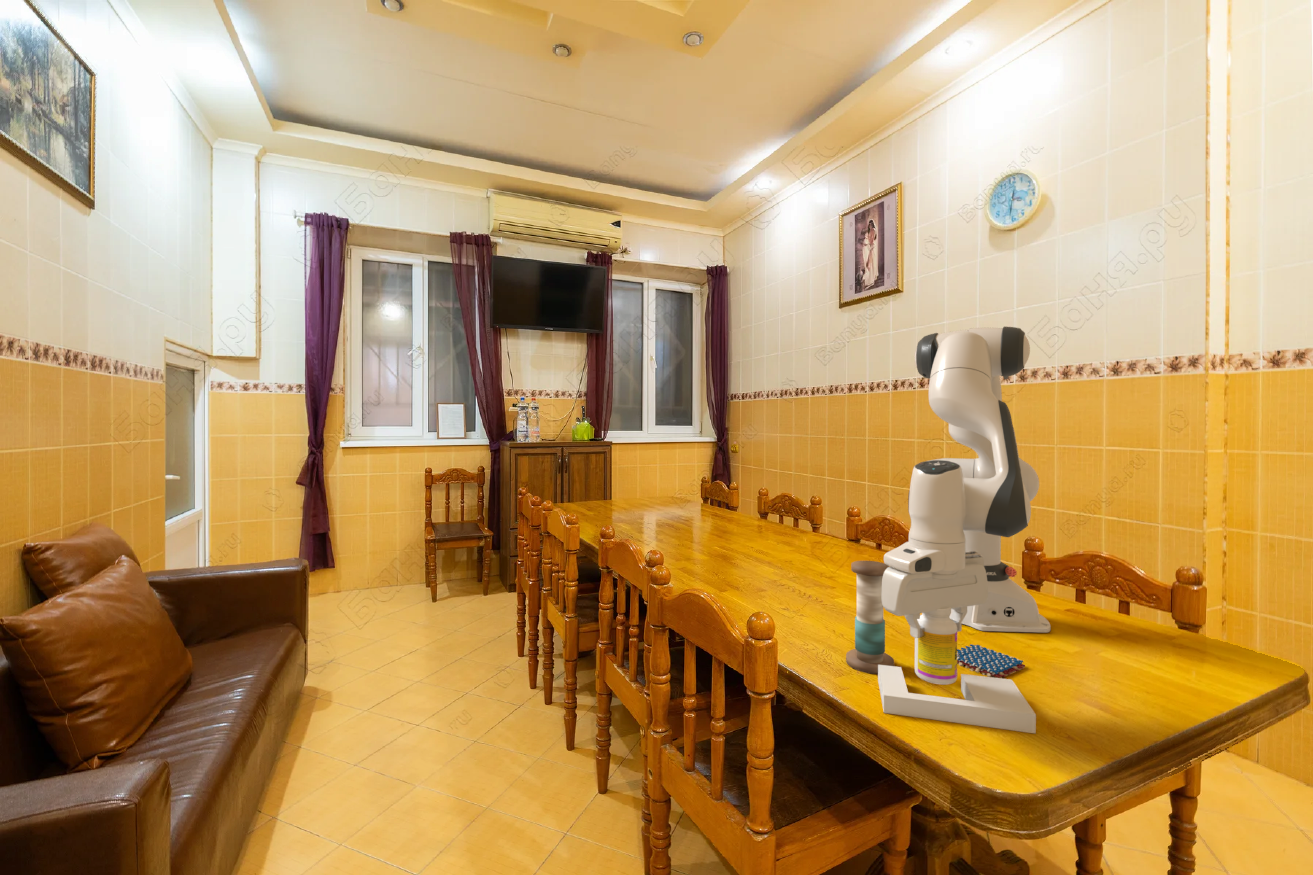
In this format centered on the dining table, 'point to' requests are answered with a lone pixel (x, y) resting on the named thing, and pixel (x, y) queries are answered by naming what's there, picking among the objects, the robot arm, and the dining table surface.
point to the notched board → (960, 702)
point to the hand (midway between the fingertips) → (935, 633)
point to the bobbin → (869, 619)
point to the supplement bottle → (937, 648)
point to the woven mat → (988, 661)
